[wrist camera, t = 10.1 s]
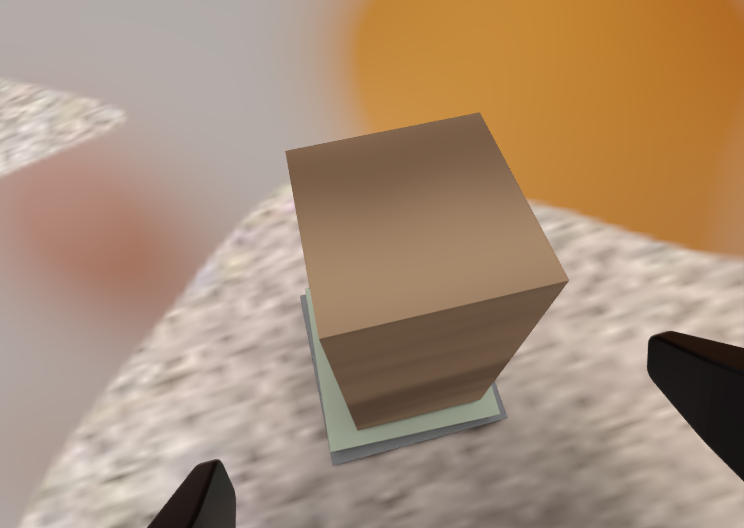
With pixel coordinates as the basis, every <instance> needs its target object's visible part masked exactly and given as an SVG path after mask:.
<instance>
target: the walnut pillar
mask: <svg viewBox="0 0 744 528" xmlns="http://www.w3.org/2000/svg"><path fill="white" fill-rule="evenodd" d="M286 157H287V163H288V168H289V174H290V180H291V185H292V191H293V197H294V202H295V208H296V214H297V219H298V225H299V230H300V236H301V242H302V247H303V253H304V259H305V264H306V270H307V275H308V281H309V287H310V292H311V298H312V304H313V309H314V315H315V320H316V326H317V332H318V337H319V341H320V343H321V345H322V348H323V350H324V352H325V355H326V357H327V360H328V362H329V364H330V367H331V369H332V371H333V374H334V376H335V379H336V381H337V383H338V386H339V388H340V390H341V393H342V395H343V397H344V400H345V402H346V405H347V407H348V409H349V412H350V414H351V416H352V419H353V421H354V424H355V426H356V428H357V431H358V430H362V429H366V428H370V427H374V426H378V425H382V424H386V423H390V422H394V421H398V420H402V419H406V418H410V417H414V416H417V415H421V414H425V413H429V412H433V411H437V410H441V409H445V408H449V407H453V406H457V405H461V404H465V403H469V402H473V401H477V400H481V398H482V397H483V396H484V394H485V393H486V392H487V390H488V389H489V388H490V386H491V385H492V383H493V382H494V381H495V379H496V378H497V377H498V375H499V374H500V373H501V371H502V370H503V369H504V367H505V366H506V365H507V363H508V362H509V361H510V359H511V358H512V357H513V355H514V354H515V353H516V351H517V350H518V349H519V347H520V346H521V345H522V343H523V342H524V340H525V339H526V338H527V336H528V335H529V334H530V332H531V331H532V330H533V328H534V327H535V326H536V324H537V323H538V322H539V320H540V319H541V318H542V316H543V315H544V314H545V312H546V311H547V310H548V308H549V307H550V306H551V304H552V303H553V301H554V300H555V299H556V297H557V296H558V295H559V293H560V292H561V291H562V289H563V288H564V287H565V285H566V284H567V283H568V281H569V279H568V277H567V275H566V273H565V272H564V270H563V268H562V266H561V264H560V262H559V260H558V258H557V257H556V255H555V253H554V251H553V249H552V247H551V245H550V243H549V242H548V240H547V238H546V236H545V234H544V232H543V230H542V228H541V227H540V225H539V223H538V221H537V219H536V217H535V215H534V213H533V212H532V210H531V208H530V206H529V204H528V202H527V200H526V198H525V197H524V195H523V193H522V191H521V189H520V187H519V185H518V183H517V182H516V180H515V178H514V176H513V174H512V172H511V171H510V168H509V167H508V165H507V163H506V161H505V159H504V157H503V155H502V154H501V152H500V150H499V148H498V146H497V144H496V142H495V140H494V138H493V137H492V135H491V133H490V131H489V129H488V127H487V125H486V124H485V122H484V120H483V118H482V116H481V114H480V113H475V114H470V115H465V116H460V117H455V118H450V119H445V120H440V121H435V122H429V123H424V124H419V125H415V126H409V127H404V128H399V129H395V130H389V131H384V132H379V133H374V134H369V135H364V136H359V137H354V138H348V139H343V140H339V141H334V142H329V143H323V144H318V145H314V146H308V147H303V148H298V149H293V150H288V151H286Z"/></svg>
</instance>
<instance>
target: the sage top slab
mask: <svg viewBox="0 0 744 528" xmlns="http://www.w3.org/2000/svg"><path fill="white" fill-rule="evenodd" d="M305 291H306V298H307V304H308V310H309V317H310V323H311V330H312V336H313V343H314V349H315V356H316V362H317V369H318V375H319V382H320V388H321V394H322V401H323V407H324V414H325V420H326V427H327V433H328V440H329V446H330V452H334V451H339V450H344V449H348V448H353V447H357V446H361V445H366V444H370V443H375V442H379V441H384V440H388V439H393V438H397V437H402V436H406V435H411V434H415V433H419V432H424V431H428V430H433V429H437V428H442V427H446V426H451V425H455V424H460V423H464V422H469V421H473V420H478V419H482V418H486V417H491V416H495V415H499V414H500V412H499V408H498V405H497V402H496V399H495V395H494V392H493V389H492V385H491V386H490V388H489V389H488V390H487V392H486V393H485V394H484V396H483V397H482V398H481V400H477V401H473V402H469V403H465V404H461V405H457V406H453V407H449V408H445V409H441V410H437V411H433V412H429V413H425V414H421V415H417V416H414V417H410V418H406V419H402V420H398V421H394V422H390V423H386V424H382V425H378V426H374V427H370V428H366V429H362V430H358V431H357V428H356V426H355V424H354V421H353V419H352V416H351V414H350V412H349V409H348V407H347V405H346V402H345V400H344V397H343V395H342V393H341V390H340V388H339V386H338V383H337V381H336V379H335V376H334V374H333V371H332V369H331V367H330V364H329V362H328V360H327V357H326V355H325V352H324V350H323V348H322V345H321V343H320V341H319V337H318V332H317V326H316V320H315V315H314V309H313V304H312V298H311V292H310V288H308V289H305Z"/></svg>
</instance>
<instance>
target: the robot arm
mask: <svg viewBox="0 0 744 528" xmlns="http://www.w3.org/2000/svg"><path fill="white" fill-rule="evenodd" d="M647 370H648V373H649V376H650V378H651V379H652V381H653V382H654V383H655V384H656V385H657V387H658V388H659V389H660V390H661V391H662V393H663V394H664V395H665V396H666V397H667V398H668V400H669V401H670V402H671V403H672V404H673V406H674V407H675V408H676V409H677V410H678V412H679V413H680V414H681V415H682V416H683V418H684V419H685V420H686V421H687V422H688V423H689V425H690V426H691V427H692V428H693V429H694V431H695V432H696V433H697V434H698V435H699V436H700V437H701V439H702V440H703V441H704V442H705V443H706V444H707V445H708V446H709V447H710V448H711V449H712V450H713V451H714V452H715V453H716V454H717V455H718V456H719V457H720V458H721V459H722V460H723V461H724V462H725V463H726V464H727V465H728V466H729V467H730V468H731V469H732V470H733V471H734V472H735V473H736V474H737V475H738V476H739V477H740V478H741V479H742V480H743V481H744V348H742V347H737V346H733V345H729V344H725V343H721V342H716V341H712V340H708V339H704V338H700V337H695V336H691V335H687V334H683V333H679V332H674V331H666V332H663V333H659V334H655V335H653V336H651V337H650V339H649V341H648V357H647ZM147 528H236V496H235V491H234V488H233V485H232V483H231V481H230V479H229V477H228V474H227V472H226V470H225V468H224V466H223V464H222V462H221V461H220V460H218V459H214V460H210V461H207V462H203V463H200V464H198V465H197V466H196V467H195V468H194V469H193V470H192V471H191V473H190V474H189V475H188V476H187V478H186V479H185V480H184V481H183V483H182V484H181V485H180V486H179V488H178V489H177V490H176V492H175V493H174V494H173V495H172V497H171V498H170V499H169V500H168V502H167V503H166V504H165V505H164V507H163V508H162V509H161V511H160V512H159V513H158V514H157V516H156V517H155V518H154V519H153V521H152V522H151V523H150V524H149V526H148V527H147Z"/></svg>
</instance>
